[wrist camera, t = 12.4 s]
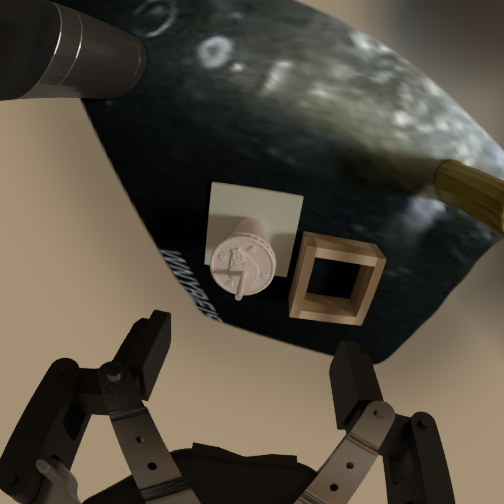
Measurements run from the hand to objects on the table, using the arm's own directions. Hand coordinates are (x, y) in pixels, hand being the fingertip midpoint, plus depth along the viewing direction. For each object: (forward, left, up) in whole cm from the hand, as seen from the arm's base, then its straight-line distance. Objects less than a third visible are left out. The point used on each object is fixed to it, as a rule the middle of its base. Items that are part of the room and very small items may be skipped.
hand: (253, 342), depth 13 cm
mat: (-1, -4, -25) cm, 25 cm away
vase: (+24, +8, -25) cm, 36 cm away
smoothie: (-1, -4, -25) cm, 25 cm away
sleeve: (+10, -8, -25) cm, 28 cm away
